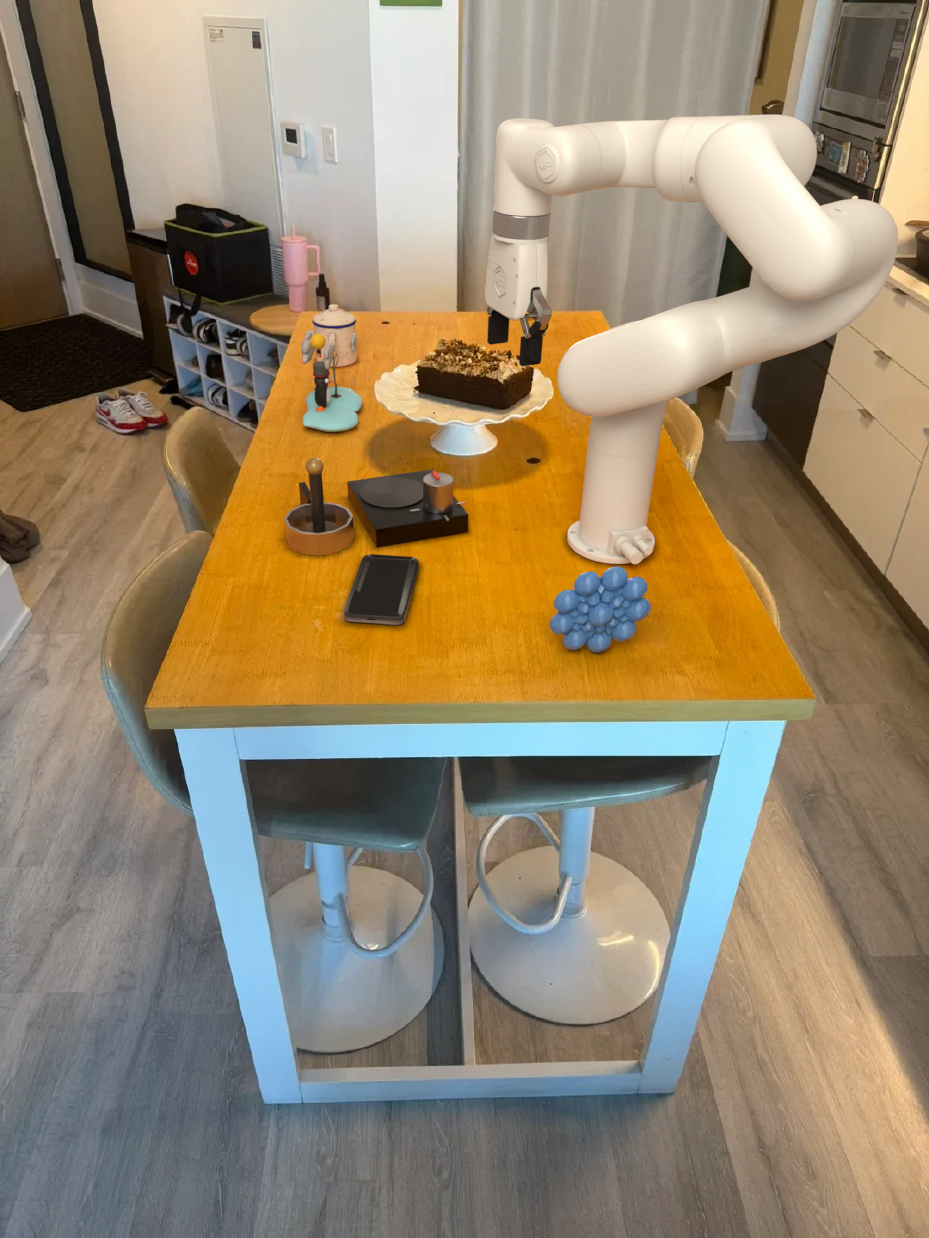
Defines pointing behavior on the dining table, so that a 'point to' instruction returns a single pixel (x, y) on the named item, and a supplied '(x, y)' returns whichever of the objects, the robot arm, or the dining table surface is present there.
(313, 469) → the peg stand
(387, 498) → the burner
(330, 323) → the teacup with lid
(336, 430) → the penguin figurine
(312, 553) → the egg ring
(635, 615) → the blue knobbed flower shape
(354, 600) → the phone
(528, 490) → the dining table surface
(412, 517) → the hotplate
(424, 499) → the hotplate knob
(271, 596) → the dining table surface
